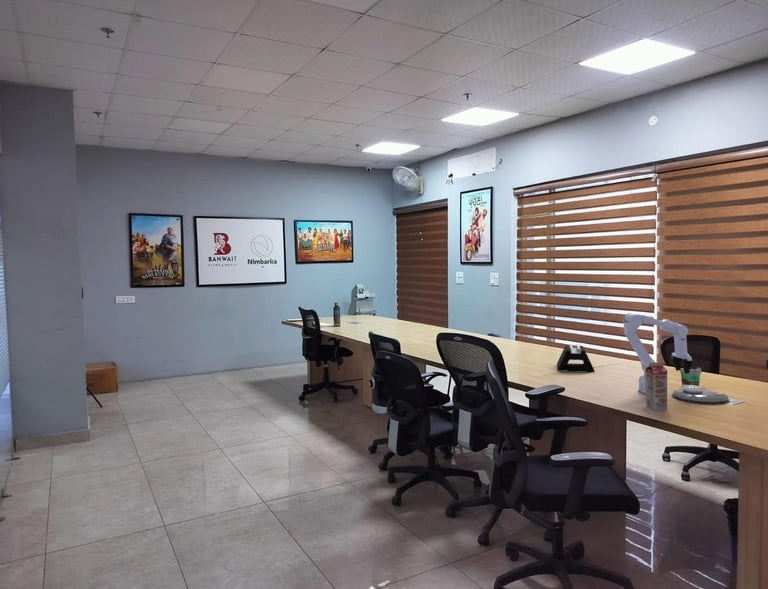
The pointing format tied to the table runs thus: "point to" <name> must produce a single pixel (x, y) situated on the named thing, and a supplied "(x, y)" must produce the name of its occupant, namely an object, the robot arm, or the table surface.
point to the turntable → (701, 396)
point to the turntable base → (700, 402)
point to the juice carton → (656, 386)
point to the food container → (691, 377)
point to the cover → (692, 389)
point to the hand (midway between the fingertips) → (682, 371)
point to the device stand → (574, 354)
